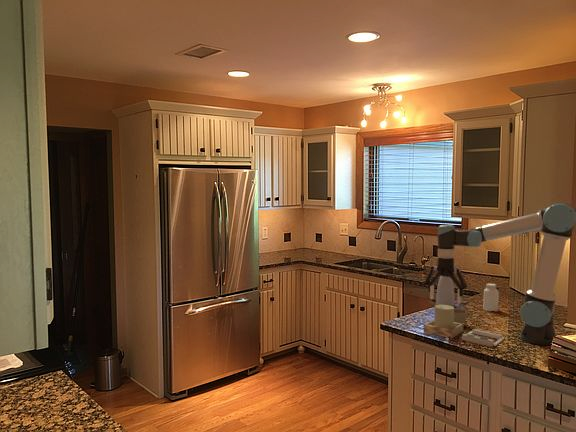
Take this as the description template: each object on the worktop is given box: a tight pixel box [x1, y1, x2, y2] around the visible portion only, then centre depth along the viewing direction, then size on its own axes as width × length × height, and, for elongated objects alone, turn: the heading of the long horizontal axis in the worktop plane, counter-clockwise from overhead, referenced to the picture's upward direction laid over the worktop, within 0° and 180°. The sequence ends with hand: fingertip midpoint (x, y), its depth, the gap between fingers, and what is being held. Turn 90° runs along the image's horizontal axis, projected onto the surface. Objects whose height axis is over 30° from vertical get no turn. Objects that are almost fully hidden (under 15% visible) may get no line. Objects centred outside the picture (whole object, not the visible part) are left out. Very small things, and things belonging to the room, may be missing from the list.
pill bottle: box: [482, 283, 500, 312], centre depth 274 cm, size 8×8×15 cm
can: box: [433, 304, 455, 329], centre depth 231 cm, size 9×9×12 cm
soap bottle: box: [435, 276, 456, 308], centre depth 283 cm, size 11×12×26 cm
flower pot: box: [454, 308, 468, 325], centre depth 244 cm, size 10×10×7 cm
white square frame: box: [460, 329, 505, 348], centre depth 221 cm, size 15×15×3 cm
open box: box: [423, 319, 464, 339], centre depth 232 cm, size 14×14×4 cm
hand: (445, 300), depth 231 cm, fingers open, 13 cm apart
